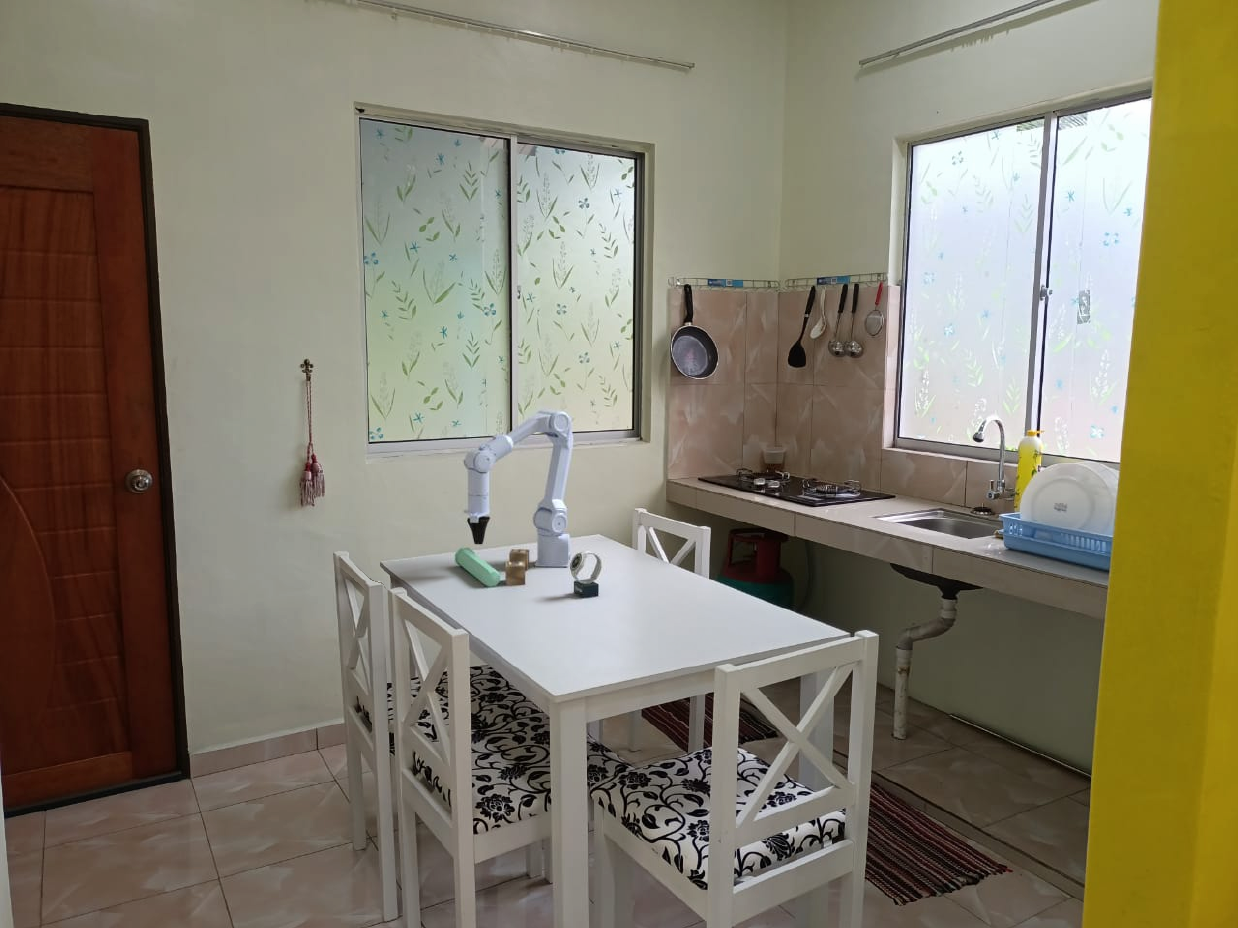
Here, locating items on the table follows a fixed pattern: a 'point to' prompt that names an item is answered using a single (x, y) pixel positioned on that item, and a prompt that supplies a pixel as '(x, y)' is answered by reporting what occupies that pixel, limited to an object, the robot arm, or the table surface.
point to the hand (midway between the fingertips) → (478, 543)
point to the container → (477, 567)
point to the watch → (586, 586)
